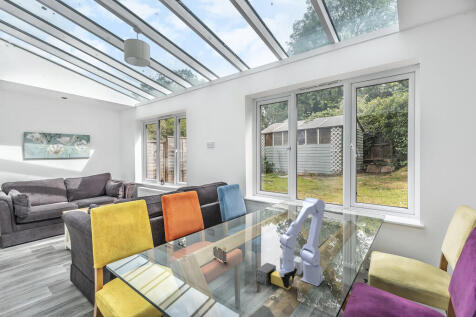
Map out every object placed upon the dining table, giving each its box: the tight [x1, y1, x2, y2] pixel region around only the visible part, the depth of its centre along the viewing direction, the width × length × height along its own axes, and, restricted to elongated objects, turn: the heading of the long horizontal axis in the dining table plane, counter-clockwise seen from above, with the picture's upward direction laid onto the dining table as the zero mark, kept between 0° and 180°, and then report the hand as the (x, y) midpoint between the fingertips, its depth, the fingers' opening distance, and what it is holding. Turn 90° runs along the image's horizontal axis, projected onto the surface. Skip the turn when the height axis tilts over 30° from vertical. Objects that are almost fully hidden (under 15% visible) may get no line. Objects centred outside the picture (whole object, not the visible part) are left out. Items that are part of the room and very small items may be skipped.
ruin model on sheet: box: [212, 245, 227, 262], centre depth 146 cm, size 11×3×10 cm, turn 39°
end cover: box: [270, 270, 293, 290], centre depth 116 cm, size 10×5×5 cm, turn 50°
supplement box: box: [279, 255, 303, 276], centre depth 132 cm, size 7×7×13 cm
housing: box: [256, 262, 277, 286], centre depth 122 cm, size 6×10×6 cm, turn 140°
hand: (288, 285), depth 114 cm, fingers closed on end cover, 5 cm apart
